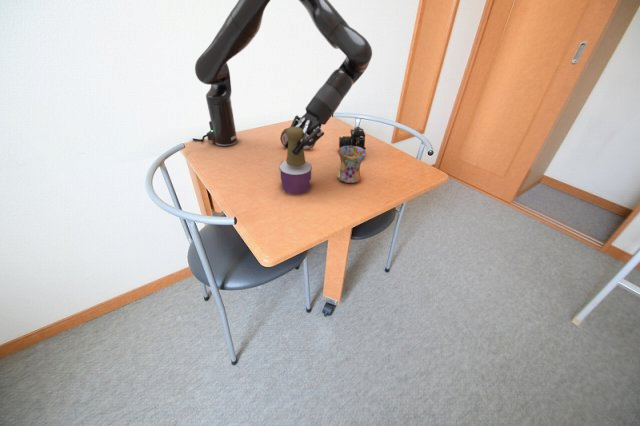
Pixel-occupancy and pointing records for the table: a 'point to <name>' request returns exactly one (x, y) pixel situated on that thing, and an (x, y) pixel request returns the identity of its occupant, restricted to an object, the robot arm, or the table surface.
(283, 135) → the tin
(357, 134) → the film camera
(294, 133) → the olive green pawn
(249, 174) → the table surface
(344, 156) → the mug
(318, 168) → the table surface
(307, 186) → the yogurt tub
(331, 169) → the table surface
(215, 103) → the robot arm
